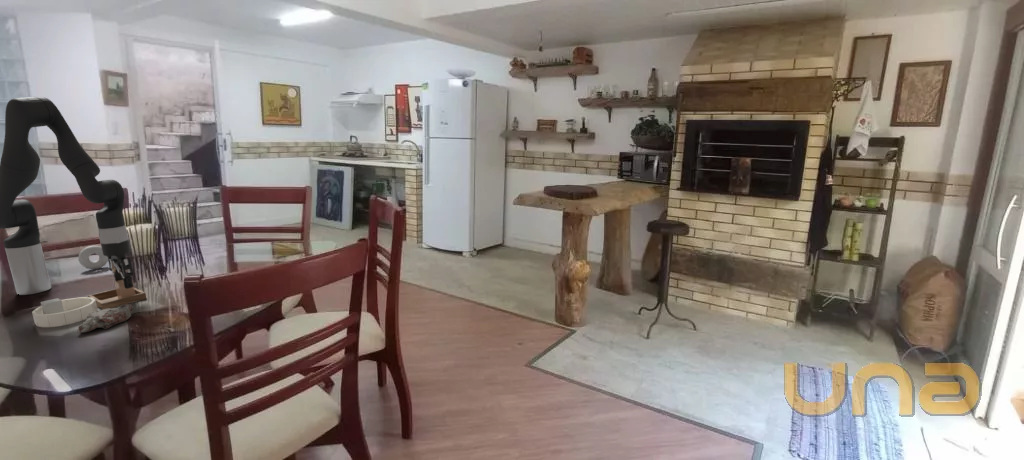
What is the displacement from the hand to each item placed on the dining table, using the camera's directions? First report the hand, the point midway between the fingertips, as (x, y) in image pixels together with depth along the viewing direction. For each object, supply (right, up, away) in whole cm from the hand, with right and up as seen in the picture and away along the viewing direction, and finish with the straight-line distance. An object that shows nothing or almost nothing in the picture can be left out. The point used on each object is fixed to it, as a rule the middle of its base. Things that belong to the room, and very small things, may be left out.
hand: (124, 285), depth 169 cm
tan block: (0, -4, +1) cm, 4 cm away
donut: (-40, +3, +36) cm, 54 cm away
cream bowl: (-6, -8, -15) cm, 18 cm away
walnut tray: (-2, -5, -1) cm, 5 cm away
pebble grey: (-8, -8, -17) cm, 21 cm away
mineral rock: (+11, -10, -21) cm, 25 cm away
